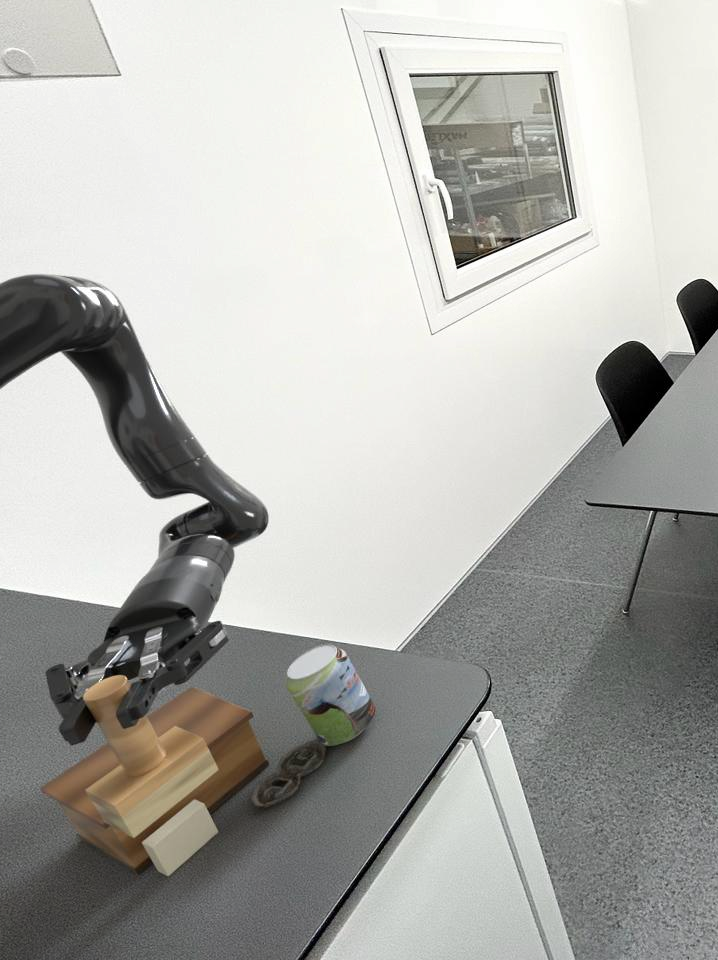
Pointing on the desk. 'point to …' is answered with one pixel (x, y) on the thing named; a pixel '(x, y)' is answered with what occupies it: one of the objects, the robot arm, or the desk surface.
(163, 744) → the wooden stamp
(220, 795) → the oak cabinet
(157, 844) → the cream soap bar
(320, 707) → the beverage can
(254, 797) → the corroded twin loop
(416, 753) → the desk surface
